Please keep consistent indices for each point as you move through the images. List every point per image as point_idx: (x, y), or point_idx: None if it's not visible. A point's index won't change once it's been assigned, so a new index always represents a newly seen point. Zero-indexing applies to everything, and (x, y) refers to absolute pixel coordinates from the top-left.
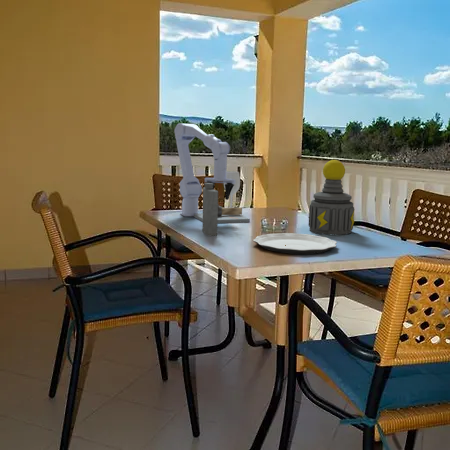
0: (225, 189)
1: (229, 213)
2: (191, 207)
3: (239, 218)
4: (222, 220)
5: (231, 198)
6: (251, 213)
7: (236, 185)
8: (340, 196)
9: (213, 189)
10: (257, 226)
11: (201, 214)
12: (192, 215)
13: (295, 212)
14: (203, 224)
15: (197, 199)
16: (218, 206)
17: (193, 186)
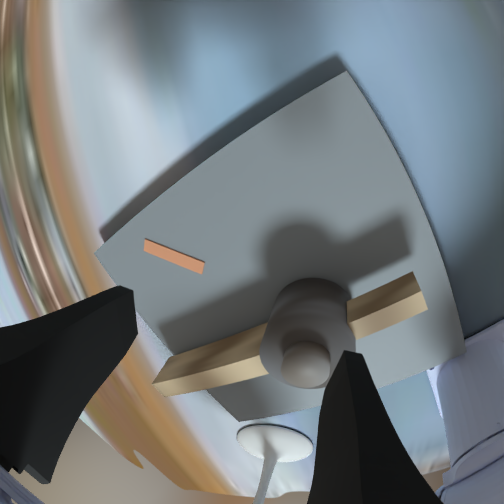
0: (22, 353)
1: (224, 342)
2: (490, 377)
3: (139, 250)
4: (222, 148)
5: (257, 499)
6: (200, 443)
7: None
8: None
9: (313, 495)
10: (47, 135)
11: (422, 337)
12: (469, 341)
13: (109, 440)
14: None
15: (459, 446)
16: (286, 352)
17: None
